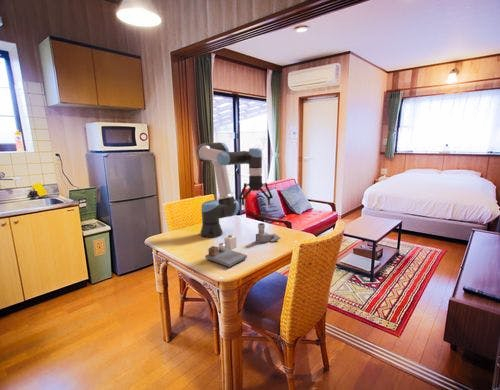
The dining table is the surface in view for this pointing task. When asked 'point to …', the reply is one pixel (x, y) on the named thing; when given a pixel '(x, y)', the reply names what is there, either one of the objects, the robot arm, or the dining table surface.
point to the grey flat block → (227, 257)
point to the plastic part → (230, 242)
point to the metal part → (221, 247)
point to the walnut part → (213, 251)
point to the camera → (265, 235)
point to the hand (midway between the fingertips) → (255, 210)
